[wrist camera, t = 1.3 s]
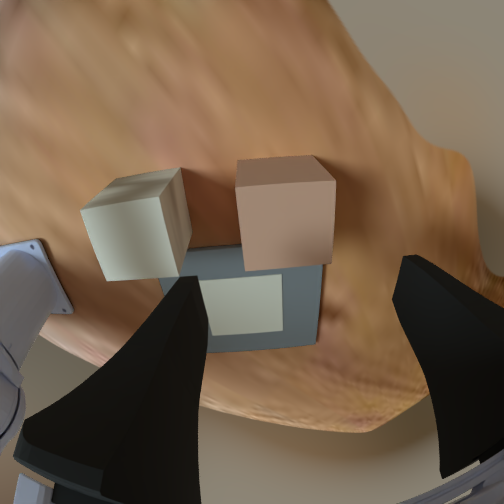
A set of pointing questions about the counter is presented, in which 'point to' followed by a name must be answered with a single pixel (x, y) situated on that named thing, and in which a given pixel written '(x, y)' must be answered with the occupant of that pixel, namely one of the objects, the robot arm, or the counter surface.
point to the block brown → (285, 212)
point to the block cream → (140, 226)
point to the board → (253, 300)
